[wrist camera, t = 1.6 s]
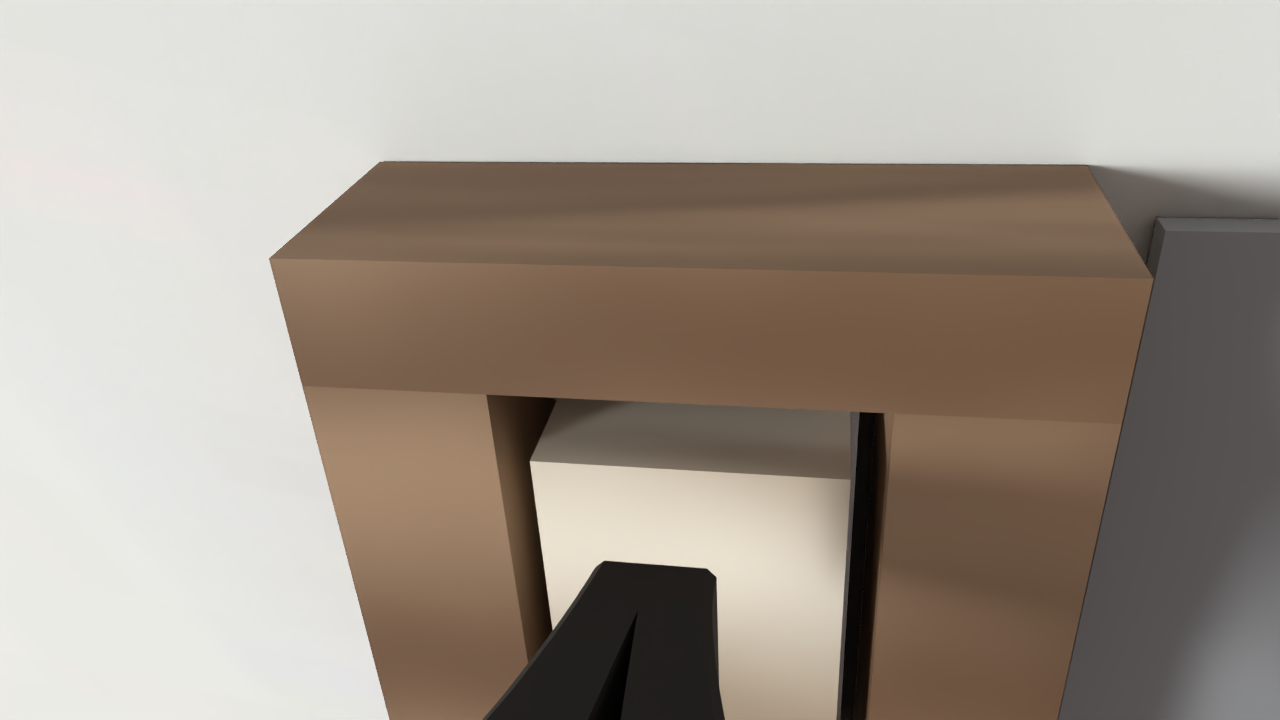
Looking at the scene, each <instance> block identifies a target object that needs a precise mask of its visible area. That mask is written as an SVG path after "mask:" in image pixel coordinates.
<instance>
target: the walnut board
mask: <svg viewBox="0 0 1280 720" xmlns="http://www.w3.org/2000/svg"><path fill="white" fill-rule="evenodd" d="M269 260H270V264H271V268H272V271H273V275H274V279H275V283H276V287H277V291H278V294H279V298H280V302H281V306H282V310H283V314H284V317H285V321H286V325H287V329H288V333H289V337H290V340H291V344H292V348H293V352H294V356H295V359H296V363H297V367H298V371H299V375H300V379H301V382H302V386H303V390H304V394H305V398H306V402H307V405H308V409H309V413H310V417H311V421H312V425H313V428H314V432H315V436H316V440H317V444H318V447H319V451H320V455H321V459H322V463H323V467H324V470H325V474H326V478H327V482H328V486H329V490H330V493H331V497H332V501H333V505H334V509H335V513H336V516H337V520H338V524H339V528H340V532H341V535H342V539H343V543H344V547H345V551H346V555H347V558H348V562H349V566H350V570H351V574H352V578H353V581H354V585H355V589H356V593H357V597H358V601H359V604H360V608H361V612H362V616H363V620H364V623H365V627H366V631H367V635H368V639H369V643H370V646H371V650H372V654H373V658H374V662H375V666H376V669H377V673H378V677H379V681H380V685H381V689H382V692H383V696H384V700H385V704H386V708H387V711H388V715H389V719H390V720H482V719H483V718H484V717H485V716H486V715H487V714H488V712H489V711H490V710H491V709H492V708H493V707H494V705H495V704H496V703H497V702H498V701H499V699H500V698H501V697H502V696H503V695H504V693H505V692H506V691H507V690H508V688H509V687H510V686H511V685H512V683H513V682H514V681H515V679H516V678H517V677H518V676H519V674H520V673H521V672H522V670H523V669H524V668H525V667H526V665H527V664H528V663H529V661H530V660H531V659H532V658H533V656H534V655H535V654H536V652H537V651H538V650H539V649H540V647H541V646H542V645H543V643H544V642H545V641H546V639H547V638H548V636H549V635H550V634H551V632H552V631H553V629H552V621H551V614H550V607H549V599H548V592H547V585H546V577H545V570H544V562H543V555H542V548H541V540H540V533H539V526H538V518H537V511H536V503H535V496H534V489H533V481H532V474H531V466H530V460H531V457H532V455H533V453H534V451H535V448H536V446H537V444H538V442H539V439H540V437H541V435H542V433H543V431H544V428H545V426H546V424H547V422H548V419H549V417H550V415H551V413H552V410H553V408H554V406H555V398H571V399H592V400H614V401H635V402H657V403H678V404H699V405H721V406H742V407H764V408H785V409H807V410H828V411H850V412H871V413H875V425H874V439H873V453H872V467H871V481H870V495H869V509H868V522H867V536H866V550H865V564H864V578H863V592H862V606H861V620H860V633H859V647H858V661H857V675H856V689H855V703H854V717H853V720H1057V718H1058V713H1059V709H1060V704H1061V700H1062V695H1063V691H1064V686H1065V681H1066V677H1067V672H1068V668H1069V663H1070V659H1071V654H1072V649H1073V645H1074V640H1075V636H1076V631H1077V627H1078V622H1079V617H1080V613H1081V608H1082V604H1083V599H1084V595H1085V590H1086V585H1087V581H1088V576H1089V572H1090V567H1091V563H1092V558H1093V553H1094V549H1095V544H1096V540H1097V535H1098V531H1099V526H1100V521H1101V517H1102V512H1103V508H1104V503H1105V499H1106V494H1107V489H1108V485H1109V480H1110V476H1111V471H1112V467H1113V462H1114V457H1115V453H1116V448H1117V444H1118V439H1119V435H1120V430H1121V425H1122V421H1123V416H1124V412H1125V407H1126V402H1127V398H1128V393H1129V389H1130V384H1131V380H1132V375H1133V370H1134V366H1135V361H1136V357H1137V352H1138V348H1139V343H1140V338H1141V334H1142V329H1143V325H1144V320H1145V316H1146V311H1147V306H1148V302H1149V297H1150V293H1151V288H1152V284H1153V277H1152V275H1151V274H1150V272H1149V270H1148V268H1147V267H1146V265H1145V263H1144V262H1143V260H1142V258H1141V257H1140V255H1139V253H1138V251H1137V250H1136V248H1135V246H1134V245H1133V243H1132V241H1131V240H1130V238H1129V236H1128V234H1127V233H1126V231H1125V229H1124V228H1123V226H1122V224H1121V223H1120V221H1119V219H1118V217H1117V216H1116V214H1115V212H1114V211H1113V209H1112V207H1111V206H1110V204H1109V202H1108V200H1107V199H1106V197H1105V195H1104V194H1103V192H1102V190H1101V189H1100V187H1099V185H1098V183H1097V182H1096V180H1095V178H1094V177H1093V175H1092V173H1091V172H1090V170H1089V168H1088V166H1087V165H912V164H700V163H488V162H379V163H378V164H377V165H376V166H374V167H373V168H372V169H371V170H370V171H369V172H368V173H366V174H365V175H364V176H363V177H362V178H361V179H360V180H358V181H357V182H356V183H355V184H354V185H353V186H352V187H350V188H349V189H348V190H347V191H346V192H345V193H344V194H342V195H341V196H340V197H339V198H338V199H337V200H335V201H334V202H333V203H332V204H331V205H330V206H329V207H327V208H326V209H325V210H324V211H323V212H322V213H321V214H319V215H318V216H317V217H316V218H315V219H314V220H313V221H311V222H310V223H309V224H308V225H307V226H306V227H305V228H303V229H302V230H301V231H300V232H299V233H298V234H297V235H295V236H294V237H293V238H292V239H291V240H290V241H289V242H287V243H286V244H285V245H284V246H283V247H282V248H281V249H279V250H278V251H277V252H276V253H275V254H274V255H273V256H271V257H270V258H269Z"/></svg>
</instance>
